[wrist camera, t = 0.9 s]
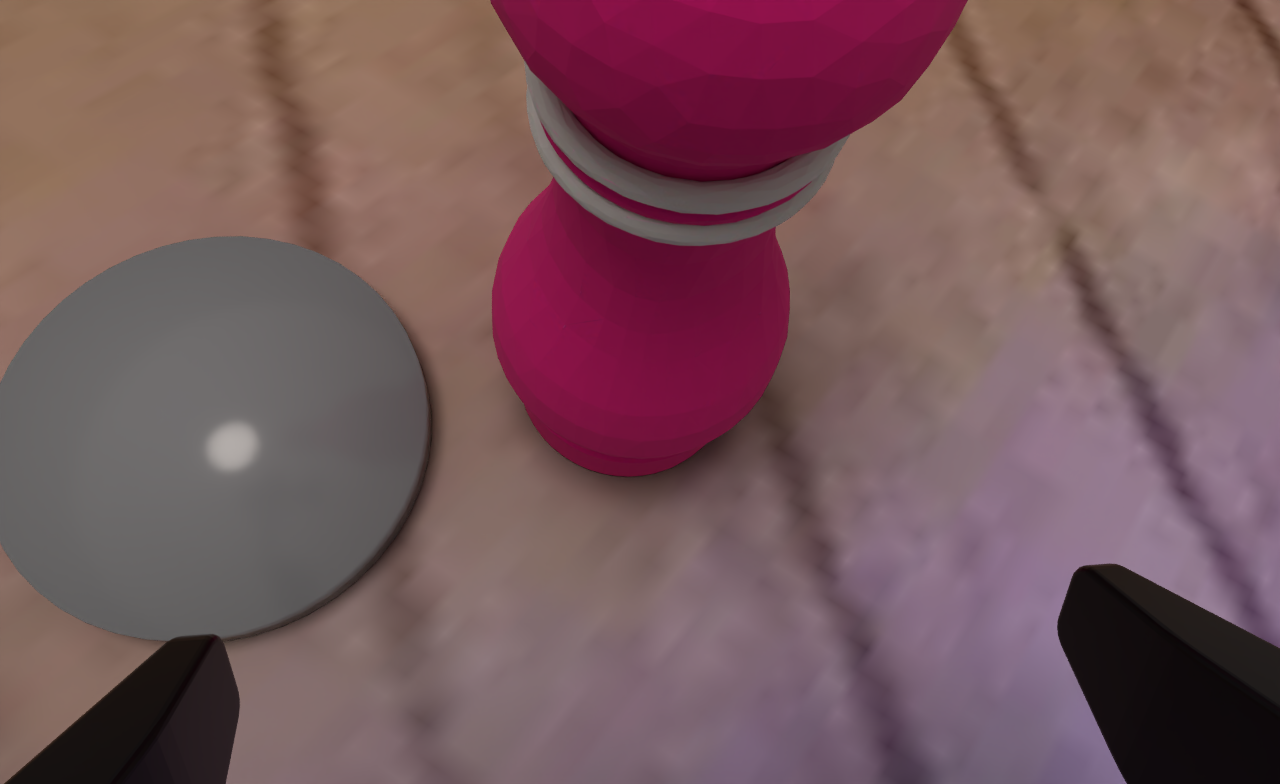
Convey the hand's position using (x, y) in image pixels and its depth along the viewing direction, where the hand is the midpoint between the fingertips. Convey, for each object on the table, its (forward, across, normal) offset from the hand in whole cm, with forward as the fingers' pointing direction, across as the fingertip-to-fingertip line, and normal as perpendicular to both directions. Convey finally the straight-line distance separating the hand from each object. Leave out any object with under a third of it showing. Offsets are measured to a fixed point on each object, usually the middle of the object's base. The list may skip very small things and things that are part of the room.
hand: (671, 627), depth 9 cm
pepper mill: (+16, -1, +5) cm, 17 cm away
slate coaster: (+15, +10, +6) cm, 19 cm away
